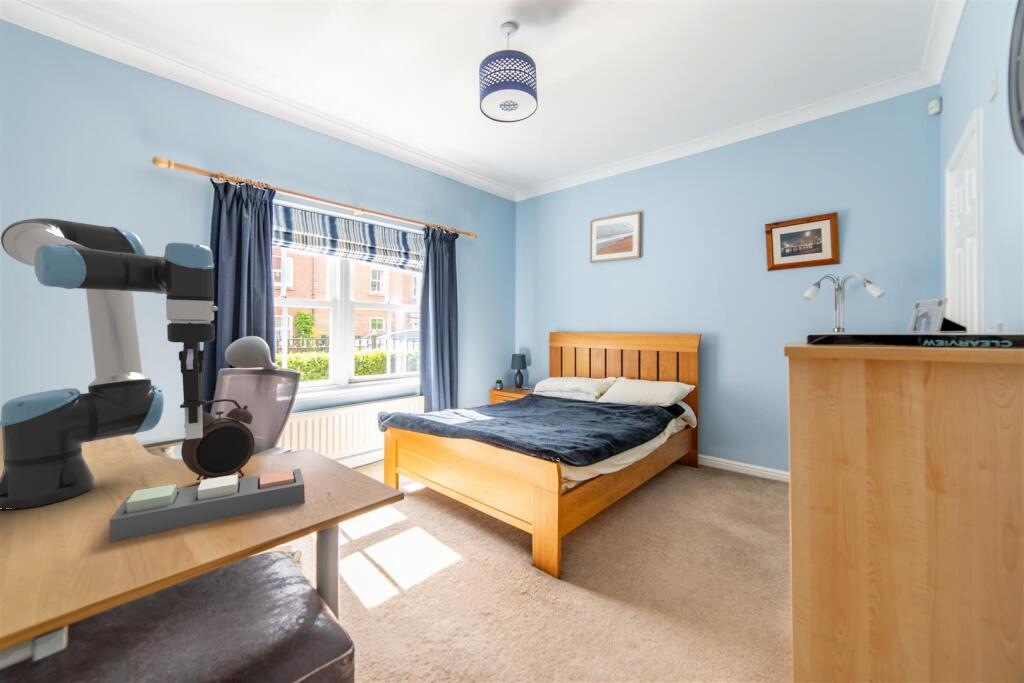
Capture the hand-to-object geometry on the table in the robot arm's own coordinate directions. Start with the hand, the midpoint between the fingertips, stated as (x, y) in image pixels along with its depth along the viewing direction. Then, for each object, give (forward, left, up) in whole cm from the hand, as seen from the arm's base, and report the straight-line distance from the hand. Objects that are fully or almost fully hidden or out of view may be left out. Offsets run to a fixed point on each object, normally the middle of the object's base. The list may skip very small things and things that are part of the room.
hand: (194, 437), depth 84 cm
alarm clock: (-19, +3, -16) cm, 25 cm away
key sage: (+1, -7, -13) cm, 14 cm away
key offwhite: (+1, +4, -13) cm, 13 cm away
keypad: (+1, +4, -16) cm, 16 cm away
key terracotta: (+1, +14, -14) cm, 20 cm away
